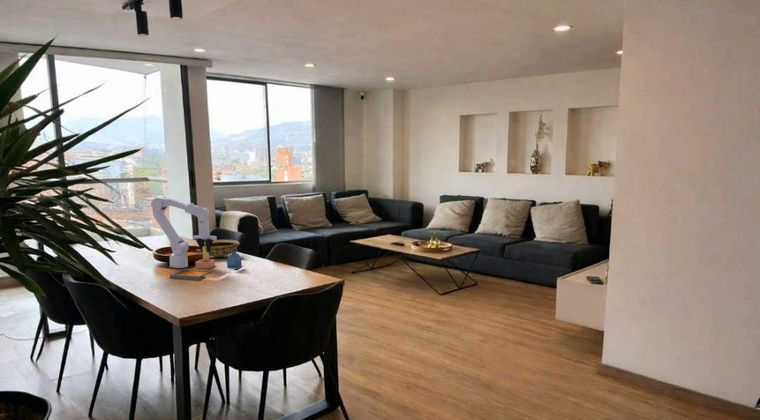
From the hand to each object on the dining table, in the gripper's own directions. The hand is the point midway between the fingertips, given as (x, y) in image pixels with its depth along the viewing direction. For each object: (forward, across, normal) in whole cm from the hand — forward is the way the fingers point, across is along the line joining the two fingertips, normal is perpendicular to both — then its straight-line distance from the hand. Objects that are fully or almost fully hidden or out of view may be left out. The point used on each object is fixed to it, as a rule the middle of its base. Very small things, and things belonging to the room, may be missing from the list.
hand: (205, 251), depth 289 cm
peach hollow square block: (+10, -1, 0) cm, 10 cm away
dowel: (+4, 0, 0) cm, 4 cm away
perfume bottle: (+11, +15, +5) cm, 19 cm away
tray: (+10, +1, -16) cm, 19 cm away
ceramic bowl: (+11, -10, +29) cm, 32 cm away
